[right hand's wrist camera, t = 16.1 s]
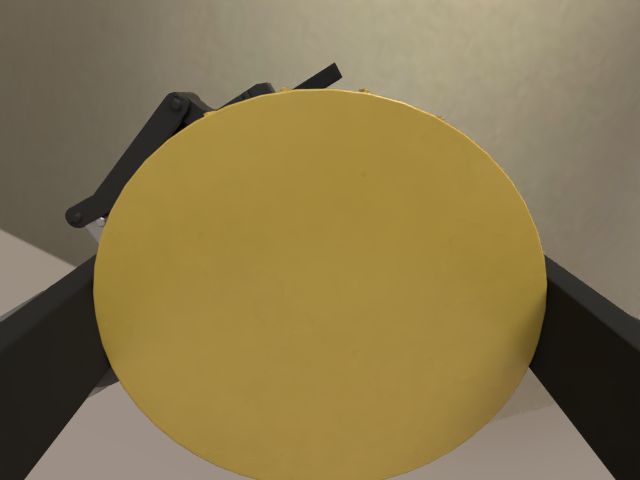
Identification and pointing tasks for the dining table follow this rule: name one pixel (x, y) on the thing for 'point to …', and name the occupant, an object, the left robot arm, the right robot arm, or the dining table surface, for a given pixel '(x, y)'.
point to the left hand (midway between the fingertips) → (385, 162)
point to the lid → (320, 287)
